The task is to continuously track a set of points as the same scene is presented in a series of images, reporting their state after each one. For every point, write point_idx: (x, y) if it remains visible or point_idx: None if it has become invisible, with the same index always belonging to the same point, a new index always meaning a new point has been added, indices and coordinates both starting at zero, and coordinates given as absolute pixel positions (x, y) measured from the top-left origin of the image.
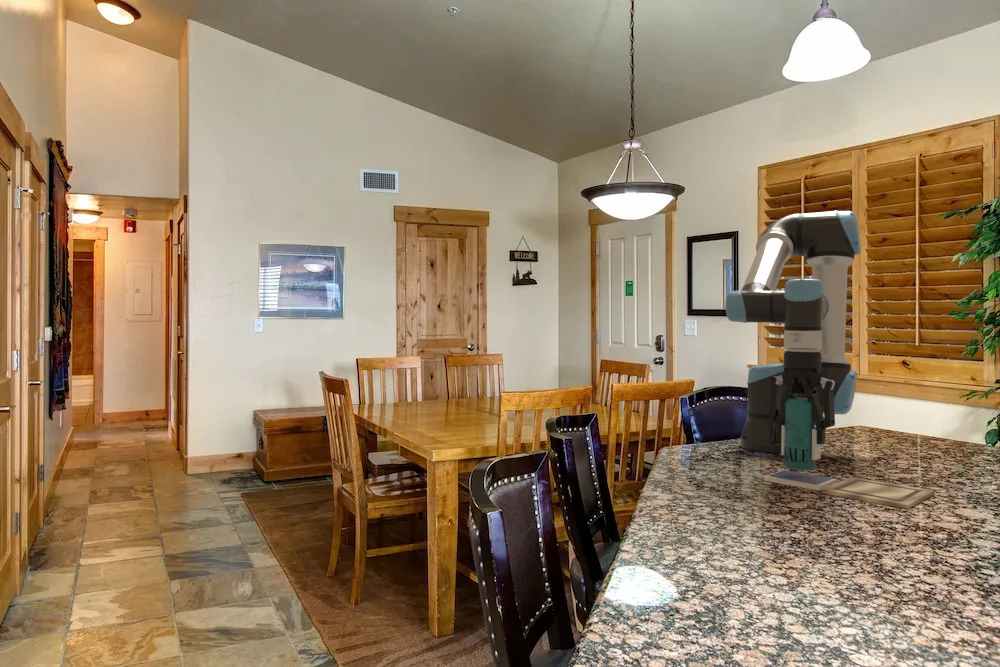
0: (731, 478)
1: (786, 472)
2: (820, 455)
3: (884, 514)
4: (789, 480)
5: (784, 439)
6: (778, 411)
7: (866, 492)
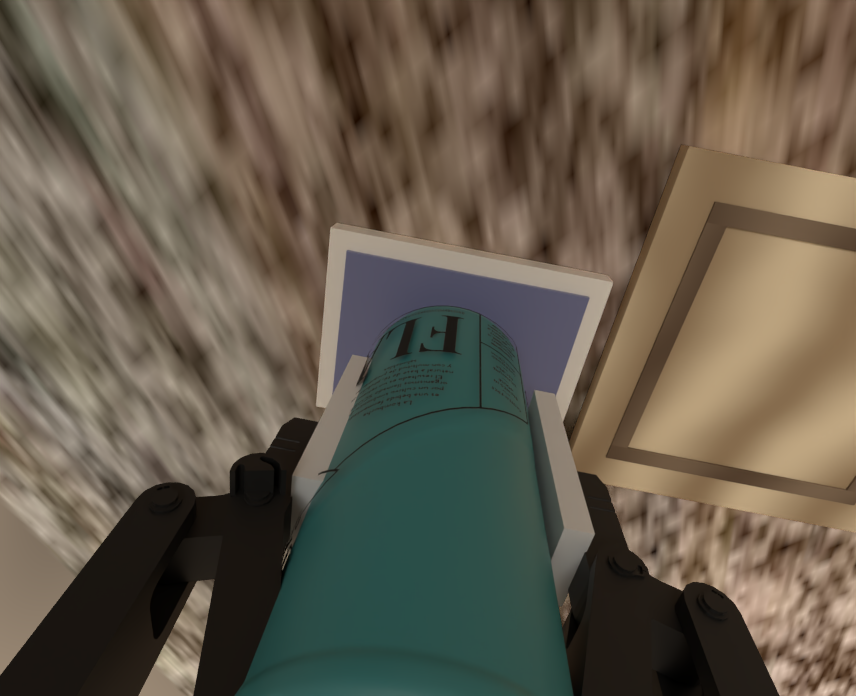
0: (211, 425)
1: (372, 298)
2: (557, 405)
3: (759, 601)
4: None
5: None
6: (158, 577)
7: (735, 440)
